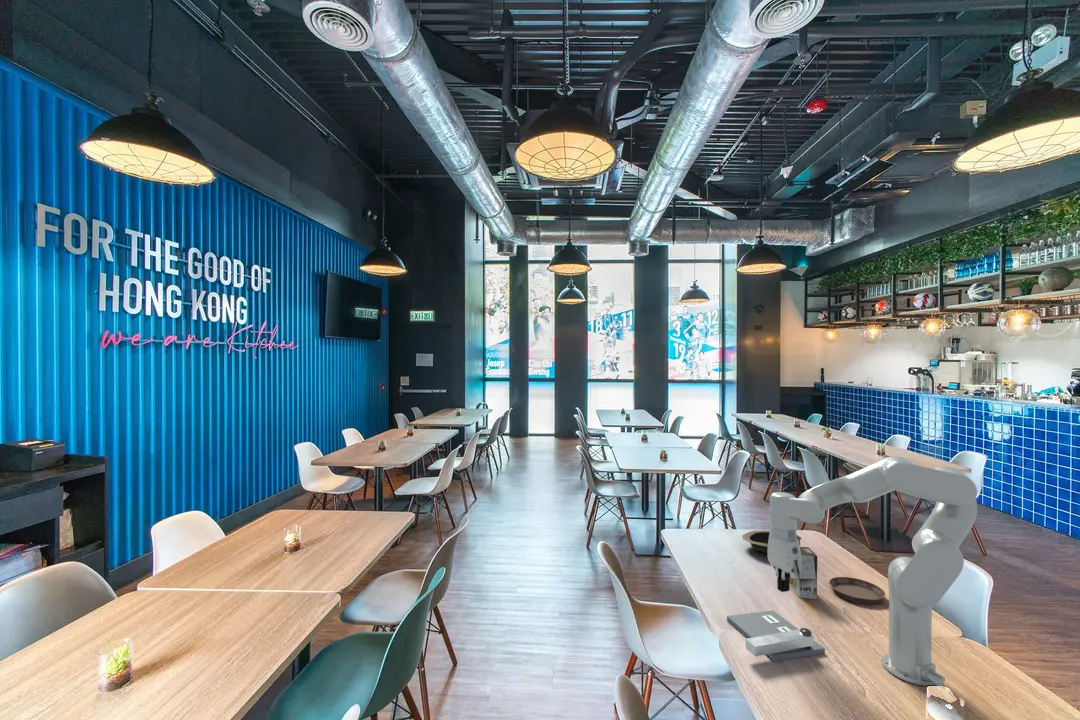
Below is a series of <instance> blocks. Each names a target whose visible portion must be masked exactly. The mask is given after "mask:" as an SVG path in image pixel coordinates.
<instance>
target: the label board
mask: <svg viewBox="0 0 1080 720" xmlns="http://www.w3.org/2000/svg"><path fill="white" fill-rule="evenodd" d="M726 621H727V622H728V623H729V624H731V625H732V626H733V627H734V628H735V629H736V630H737V629H738V630H739V631H738V630H737V631H738V632H740V634H742V633H743V634H744V635H745V636H746V637H747V638H746V637H745V636H744V635H743V634H742V635H743V636H744V637H745V638H746V639H748V638H753V637H759V636H765V635H770V634H776V633H782V632H787V631H793V630H799V629H800V628H797V626H795V625H794V624H792V623H791V622H789V621H788V620H786V618H784V617H783V616H781V615H780V614H778V613H777V612H776V611H775V610H773V609H772V610H763V611H755V612H749V613H741V614H733V615H727V616H726ZM823 654H826V648H825V647H824V646H823V645H821V644H820V643H818V642H817V641H816V640H814V646H811V648H804V647H803V648H798V649H793V650H788V651H782V652H777V653H772V654H767V655H768V656H769V657H770V658H771V661H773V662H775V661H774V660H778V661H783V659H784V660H788V659H789V660H790V659H795V658H802V657H809V656H816V655H823ZM767 655H766V656H767ZM768 656H767V657H768ZM769 657H768V658H769ZM770 658H769V659H770Z"/></svg>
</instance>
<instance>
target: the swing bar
mask: <svg viewBox="0 0 1080 720" xmlns="http://www.w3.org/2000/svg"><path fill="white" fill-rule="evenodd" d="M798 629H799V630H793V631H787V632H782V633H776V634H770V635H765V636H759V637H753V638H745V649H746V650H747V651H749V653H750V654H751V655H753V656H754V657H755V658H756V657H761V656H767V654H772V653H777V652H782V651H788V650H793V649H798V648H803V647H804V648H811V646H814V641H815V636H814V635H813V634H812V630H810V629H809V628H807V627H805V628H804V627H801V628H798Z"/></svg>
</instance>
